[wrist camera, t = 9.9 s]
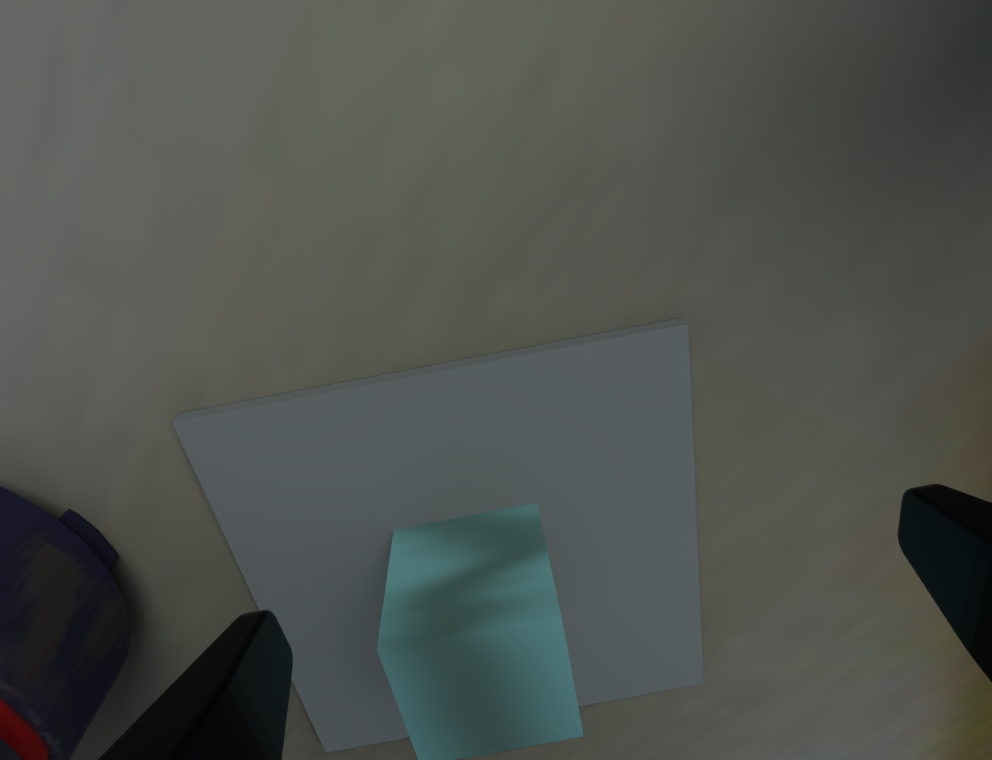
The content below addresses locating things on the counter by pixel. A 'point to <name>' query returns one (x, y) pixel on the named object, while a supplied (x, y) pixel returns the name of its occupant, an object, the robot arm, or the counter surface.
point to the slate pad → (469, 507)
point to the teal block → (477, 636)
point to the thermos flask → (54, 629)
